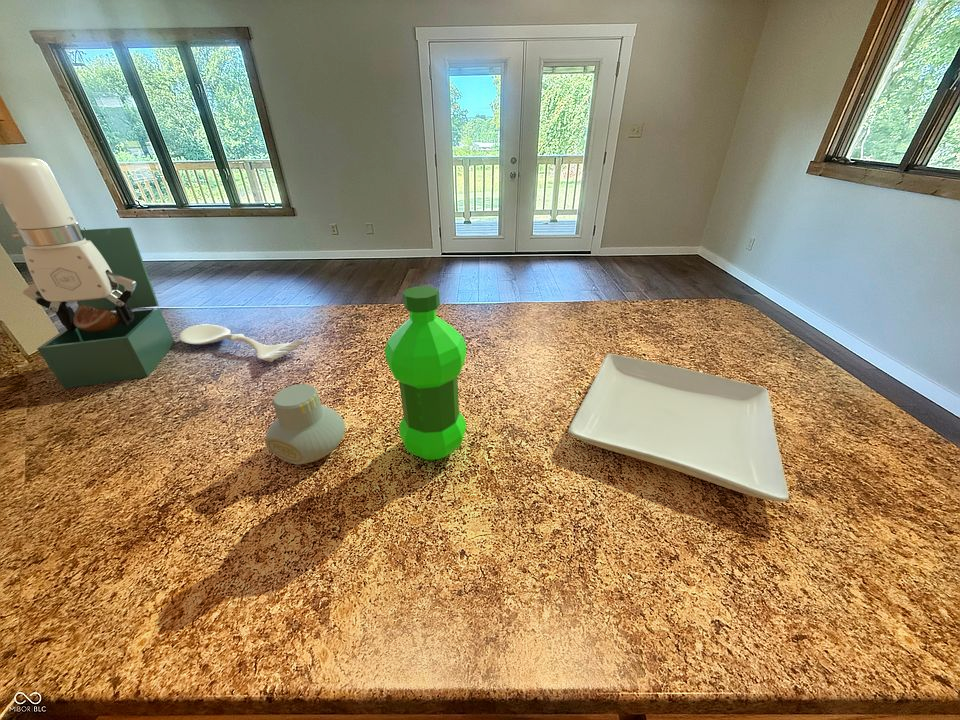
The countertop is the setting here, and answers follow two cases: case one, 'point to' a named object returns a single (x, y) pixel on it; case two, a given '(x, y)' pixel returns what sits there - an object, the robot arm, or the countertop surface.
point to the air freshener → (303, 426)
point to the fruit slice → (95, 319)
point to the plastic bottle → (427, 376)
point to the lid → (121, 266)
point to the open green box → (109, 351)
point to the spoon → (218, 333)
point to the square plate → (685, 424)
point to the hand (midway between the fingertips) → (102, 325)
